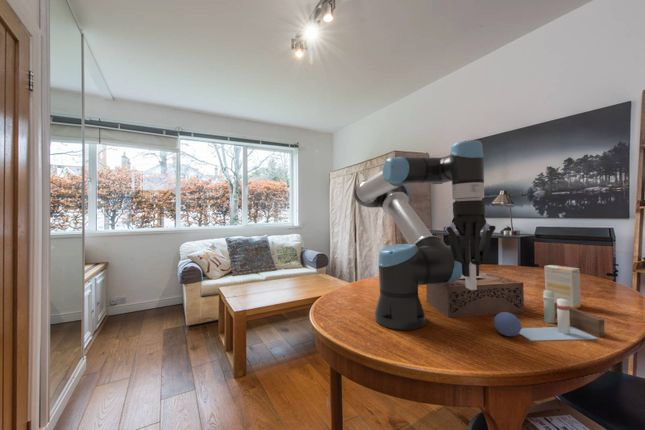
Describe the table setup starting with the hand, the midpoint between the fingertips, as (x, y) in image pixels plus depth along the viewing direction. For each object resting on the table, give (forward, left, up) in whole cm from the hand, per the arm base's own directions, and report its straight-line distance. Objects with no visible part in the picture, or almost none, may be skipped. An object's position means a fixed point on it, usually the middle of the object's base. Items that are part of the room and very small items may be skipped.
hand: (471, 288), depth 71 cm
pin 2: (+24, 0, -13) cm, 28 cm away
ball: (+9, 0, -10) cm, 14 cm away
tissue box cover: (+12, +22, -13) cm, 28 cm away
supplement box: (+43, +21, -13) cm, 50 cm away
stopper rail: (+32, +4, -13) cm, 35 cm away
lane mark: (+21, 0, -13) cm, 25 cm away
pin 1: (+27, +8, -13) cm, 31 cm away
